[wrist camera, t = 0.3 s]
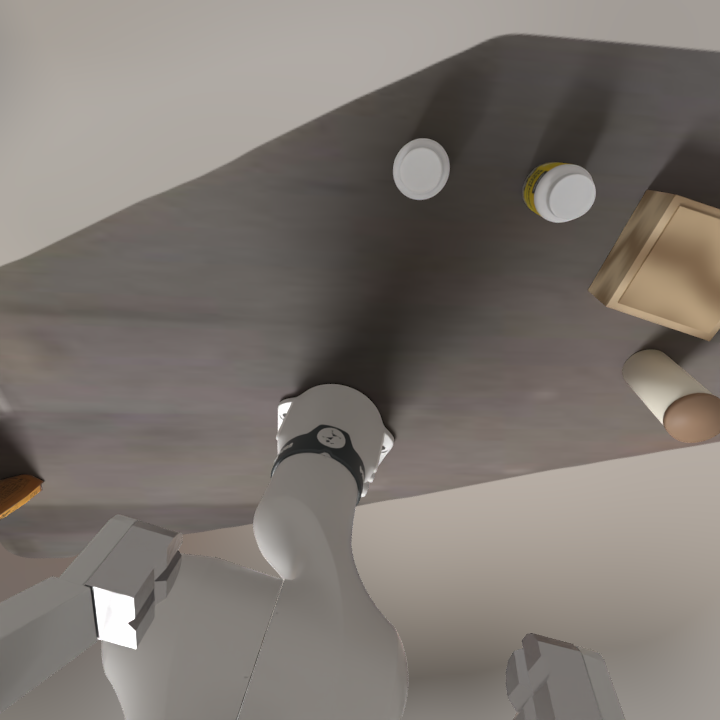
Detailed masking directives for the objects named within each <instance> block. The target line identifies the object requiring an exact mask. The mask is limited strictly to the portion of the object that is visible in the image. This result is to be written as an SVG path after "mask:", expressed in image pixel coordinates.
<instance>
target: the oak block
mask: <svg viewBox="0 0 720 720" xmlns="http://www.w3.org/2000/svg"><path fill="white" fill-rule="evenodd" d="M588 291H589V292H590V293H591V294H593V295H594V296H595V297H596V298H597V299H598V300H599V301H601V302H602V303H603V304H604V305H605V306H606V307H609V308H612V309H615V310H618V311H621V312H624V313H627V314H630V315H633V316H636V317H639V318H642V319H645V320H648V321H651V322H654V323H657V324H660V325H663V326H666V327H669V328H672V329H675V330H678V331H681V332H684V333H687V334H690V335H693V336H695V337H698V338H701V339H704V340H707V341H710V340H711V339H712V338H713V336H714V335H715V334H716V333H717V331H718V330H719V329H720V209H717V208H714V207H711V206H708V205H705V204H702V203H699V202H696V201H693V200H690V199H688V198H685V197H682V196H679V195H675V194H670V193H664V192H658V191H653V190H646V192H645V194H644V195H643V197H642V199H641V201H640V202H639V204H638V206H637V207H636V209H635V211H634V212H633V214H632V216H631V218H630V219H629V221H628V223H627V224H626V226H625V228H624V229H623V231H622V233H621V235H620V236H619V238H618V240H617V241H616V243H615V245H614V247H613V248H612V250H611V252H610V253H609V255H608V257H607V258H606V260H605V262H604V264H603V265H602V267H601V269H600V270H599V272H598V274H597V276H596V277H595V279H594V281H593V282H592V284H591V286H590V287H589V289H588Z"/></svg>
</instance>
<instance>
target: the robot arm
mask: <svg viewBox="0 0 720 720" xmlns="http://www.w3.org/2000/svg"><path fill="white" fill-rule="evenodd" d="M284 413H286V415H285V414H284ZM276 439H277V440H278V444H277V448H278V455H277V457H276V459H275V462H274V466H273V468H272V471H271V480H270V482H269V484H268V486H267V488H266V490H265V492H264V494H263V497H262V499H261V501H260V503H259V505H258V507H257V509H256V511H255V515H254V522H253V528H254V534H255V538H256V541H257V544H258V546H259V549H260V551H261V553H262V554H263V556H264V558H265V559H266V560H267V561H268V562H269V563H270V565H271V566H272V567H273V568H274V569H275V570H276V571H277V572H278V573H279V575H280V576H281V577H282V579H281V578H278V577H275V576H272V575H269V574H266V573H263V572H260V571H256V570H254V569H250V568H247V567H244V566H241V565H238V564H235V563H232V562H229V561H226V560H223V559H220V558H217V557H209V556H201V555H191V554H180V552H179V551H178V549H179V547H180V546H181V544H182V533H180V532H176V531H173V530H169V529H166V528H163V527H159V526H156V525H153V524H149V523H146V522H143V521H140V520H137V519H133V518H130V517H126V516H123V515H119V514H117V515H116V516H114V517H113V518H111V519H110V520H109V521H108V522H107V523H106V524H105V525H104V527H103V528H102V529H101V530H100V531H99V532H98V534H97V535H96V536H95V537H94V538H93V539H92V540H91V542H90V543H89V544H88V545H87V546H86V547H85V548H84V550H83V551H82V552H81V553H80V554H79V555H78V556H77V558H76V559H75V560H74V561H73V562H72V563H71V564H70V566H69V567H68V568H67V569H66V570H65V572H64V573H63V574H62V575H61V576H60V577H59V578H57V577H53V576H52V577H50V578H48V579H46V580H44V581H42V582H40V583H38V584H36V585H34V586H32V587H30V588H28V589H26V590H24V591H23V592H20V593H18V594H16V595H14V596H12V597H10V598H8V599H6V600H5V601H2V602H0V713H2V712H3V711H4V710H6V709H7V708H8V707H10V706H11V705H12V704H14V703H15V702H16V701H18V700H19V699H20V698H22V697H23V696H24V695H26V694H27V693H28V692H30V691H31V690H33V689H34V688H35V687H36V686H38V685H39V684H41V683H42V682H43V681H45V680H46V679H47V678H49V677H50V676H51V675H53V674H54V673H55V672H57V671H58V670H59V669H61V668H62V667H63V666H65V665H66V664H68V663H69V662H70V661H72V660H73V659H74V658H76V657H77V656H78V655H80V654H81V653H82V652H84V651H85V650H87V649H88V648H89V647H91V646H92V645H93V644H95V643H96V642H97V639H100V640H102V651H101V652H102V662H103V667H104V672H105V674H106V676H107V678H108V679H109V681H110V682H111V684H112V686H113V688H114V690H115V692H116V694H117V696H118V699H119V701H120V704H121V707H122V709H123V713H124V717H125V720H237V717H238V714H239V711H240V708H241V705H242V702H243V699H244V696H245V693H246V690H247V687H248V684H249V682H250V678H251V676H252V672H253V670H254V667H255V670H254V673H253V676H252V679H251V682H250V685H249V688H248V691H247V694H246V697H245V700H244V703H243V706H242V709H241V712H240V715H239V718H238V720H401V718H402V715H403V712H404V708H405V704H406V699H407V693H408V666H407V660H406V654H405V651H404V647H403V644H402V642H401V639H400V637H399V634H398V633H397V631H396V629H395V627H394V626H393V625H392V624H391V623H390V622H389V621H388V620H387V618H386V617H385V616H384V615H383V614H382V613H381V611H380V610H379V609H378V608H377V606H376V605H375V603H374V602H373V600H372V599H371V598H370V596H369V594H368V592H367V590H366V589H365V587H364V585H363V582H362V580H361V578H360V576H359V574H358V571H357V568H356V565H355V562H354V558H353V554H352V546H351V541H352V540H351V539H352V528H353V527H352V526H353V519H354V513H355V507H356V506H357V504H358V503H359V501H360V498H361V497H364V496H365V495H366V493H367V491H368V488H369V483H368V482H372V481H373V479H374V477H375V474H374V473H373V472H376V471H377V468H378V466H379V464H380V463H381V461H382V460H383V459H384V457H385V456H386V455H387V453H388V452H389V451H390V449H391V448H392V447H393V444H394V437H393V436H392V434H391V433H390V432H389V431H388V430H387V429H386V428H385V426H384V425H383V422H382V419H381V416H380V413H379V411H378V409H377V408H376V406H375V405H374V404H373V402H372V401H371V400H370V399H369V398H368V397H366V396H365V395H364V394H362V393H361V392H359V391H357V390H355V389H353V388H350V387H348V386H344V385H339V384H324V385H319V386H315V387H313V388H311V389H309V390H307V391H305V392H304V393H303V394H301V395H299V396H298V397H294V398H289V399H285V400H282V401H281V402H280V404H279V406H278V433H277V436H276ZM382 446H385V447H382ZM367 481H368V482H367ZM283 581H284V583H283V586H282V589H281V592H280V595H279V598H278V601H277V597H278V594H279V591H280V588H281V585H282V582H283ZM276 601H277V604H276V607H275V610H274V606H275V603H276ZM273 610H274V613H273ZM272 613H273V616H272ZM271 616H272V619H271ZM270 619H271V622H270V624H269V621H270ZM268 625H269V627H268ZM267 628H268V631H267ZM266 631H267V633H266ZM265 634H266V636H265ZM264 637H265V639H264ZM263 640H264V642H263ZM262 643H263V646H262ZM522 644H523V648H522V649H519V650H516V651H514V652H513V653H512V655H511V657H510V658H509V660H508V665H507V669H506V687H507V695H508V699H509V700H510V702H511V704H512V705H513V707H514V708H515V710H516V714H515V716H514V718H513V720H626V719H625V717H624V714H623V711H622V708H621V706H620V703H619V700H618V697H617V694H616V691H615V688H614V686H613V683H612V680H611V677H610V674H609V672H608V669H607V666H606V663H605V661H604V659H603V657H602V656H601V654H600V653H598V652H596V651H594V650H590V649H586V648H583V647H579V646H575V645H573V644H571V643H567V642H563V641H560V640H556V639H552V638H548V637H544V636H541V635H537V634H533V633H530V634H526V636H525V637H524V638H523V640H522ZM261 646H262V648H261ZM260 649H261V651H260ZM259 652H260V654H259ZM258 654H259V657H258ZM257 658H258V661H257ZM256 661H257V663H256ZM255 664H256V666H255Z"/></svg>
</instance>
